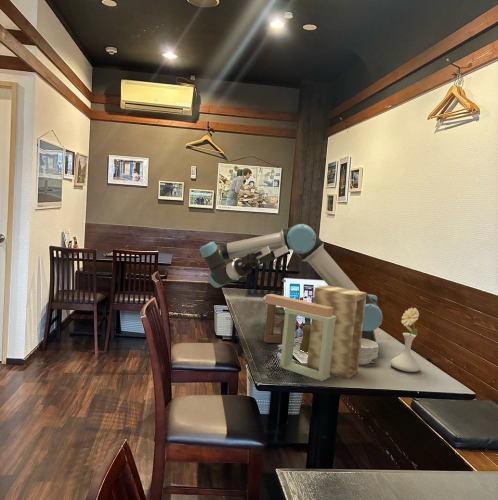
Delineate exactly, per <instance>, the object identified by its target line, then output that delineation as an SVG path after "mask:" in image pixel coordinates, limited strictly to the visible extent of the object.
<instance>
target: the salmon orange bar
mask: <svg viewBox="0 0 498 500" xmlns="http://www.w3.org/2000/svg"><path fill="white" fill-rule="evenodd" d="M264 303H265V304H267V305H268V304H272V305H276V307H280V308H282V307H283V308H284V309H285V308H289V309H293V310H298V311H302V312H306V313H310V314H315V315H319V316H323V317H327V318H328V317H331V316H333V307H329V306H325V305H320V304H315V303H313V302H311V301H310V302H309V301H307V300H306V301H305V300H302V299H301V300H300V299H297V298H292V297H289V296H288V297H287V296H284V295H283V296H282V295H279V294H274V293H269V294H265V297H264Z"/></svg>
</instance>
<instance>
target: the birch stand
mask: <svg viewBox="0 0 498 500" xmlns="http://www.w3.org/2000/svg"><path fill="white" fill-rule="evenodd" d="M367 294H368V292H366V293H365V291H360V290H359V291H355V290H350V289H344V288H339V287H334V286H329V285H327V284H326V285H321V286H316V287H314V295H313V302H312V303H315V304H320V305H325V306H329V307H333V315H334V316H337V317H336V321H335V329H334V338H333V347H332V356H331V366H330V376H331V375H332V376H334V377H338V378H342V379H344V380H348V379H349V378H352V377H353V376H354V375H356V374H357V373H358V372H359V366H360V364H359V357H360V348H361V339H362V331H363V322H364V313H365V305H366V296H367ZM310 320H311V323H310V325H311V330H310V340H309V349H308V353H307V360H306V361H307V362H306V367H308V368H311V369H314V370H317V371H319V363H320V354H321V344H322V335H323V326H324V322H322V321H318V320H314V319H310Z"/></svg>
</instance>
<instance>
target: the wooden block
mask: <svg viewBox="0 0 498 500" xmlns="http://www.w3.org/2000/svg"><path fill="white" fill-rule="evenodd" d="M276 309H277V305H272V304H268V303H267V310H266V311H267V312H266V319H265V320H266V321H265V330H264V334H263V341H264V343H266V344H267V343H268V344H281V345H282V340H283V330H284V320H285V315H284V316H283V317H282V318H281V319H280V320H278V321H277V322H276V323H275V324H274V322H275V311H276ZM274 327H281V334H277V333H273V332H274Z"/></svg>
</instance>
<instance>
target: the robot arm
mask: <svg viewBox="0 0 498 500" xmlns="http://www.w3.org/2000/svg"><path fill="white" fill-rule="evenodd" d="M324 244H325V243H324V242H323V240H322V239H321V238H320V237H319V236H318V235H317V234H316V232H315V231H314V229H313V228H312V227H311V226H310V225H308V224H305V223H298V224H295V225H294V226H291V227H287V228H284V229H281V231H279V232H274V233H271V234H270V233H269V234H266V235H260V236H256V237H250V238H245V239H241V240H237V241H236V240H235V241H232V242H227V243H221V244H216V243H215V241H211V242H208V243H207V244H205V245H204V244H203V246H201V247H200V249H199V252H200V254H201V256H202V258H203V260H204V262H205V264H206V266H208V269H209V270H210V273H209V275H208V279H209V280H208V281H209V283H210V285H211V286H212V287H213V288H221V287H223V286H226V285H228V284H230V283H232V282H233V281H238V280H239V279H240V278H242V277H245V276H246V275H248V274H250V273H251V272H252V268H255V267H260V266H261V265H264V264H267V263H268V262H271V261H274V260H277V259H279V257H280V256H283V255H286V253H288V252H289V251H290V250H291V251H293V252H294V253H295V254H296V255H297V256H298V257H299V258H300V259H301V261H302V262H307V263H308V264H309V265H310V266H311V267H312V268H313V270H314V271H315V272H316V273H317V274H318V275H319V276H320V278H321V279H322V280H323V281H324V282H325V283H326V285H329V286H334V287H339V288H344V289H350V290H355V291H360V289H359V288H358V287H357V286H356V284H354V282H353V281H352V280H351V279H350V278H349V276H348V275H347V274H346V273H345V272H344V271H343V270H342V268H341V267H340V266H339V265H338V264H337V262H336V261H335V260H334V259H333V258H332V257H331V255H330V254H329V253H328V252H327V250H325V248H324ZM233 259H235V260H233ZM228 260H233V261H231V262H229V263H226V261H228ZM364 292H365V291H364ZM365 293H367V292H365ZM383 318H384V317H383V312H382V310H381V308H380V307H379V306H378V296H377V295H375V294H369V293H367V296H366V305H365V313H364V322H363V331H362V338H364V339H368V340H371V341H374V342H376V343H377V339H376V334H375V330H378V328H380V326H381V325H382V322H383V320H384V319H383Z"/></svg>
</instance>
